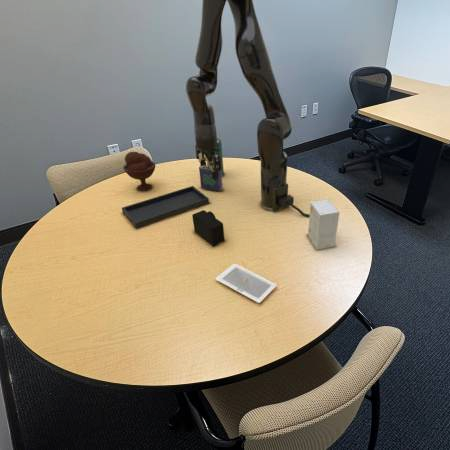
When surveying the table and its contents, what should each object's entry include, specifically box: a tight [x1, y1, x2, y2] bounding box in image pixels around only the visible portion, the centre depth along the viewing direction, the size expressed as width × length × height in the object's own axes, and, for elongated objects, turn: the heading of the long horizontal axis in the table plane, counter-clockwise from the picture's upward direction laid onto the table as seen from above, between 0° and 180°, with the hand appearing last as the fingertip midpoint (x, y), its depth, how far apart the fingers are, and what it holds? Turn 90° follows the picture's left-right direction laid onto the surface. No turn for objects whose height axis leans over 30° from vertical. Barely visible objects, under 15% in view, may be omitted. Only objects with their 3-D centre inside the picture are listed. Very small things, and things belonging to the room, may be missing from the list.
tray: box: [121, 185, 210, 230], centre depth 119 cm, size 12×26×2 cm, turn 133°
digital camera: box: [191, 209, 225, 247], centre depth 105 cm, size 10×5×7 cm, turn 47°
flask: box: [198, 163, 224, 192], centre depth 129 cm, size 9×3×11 cm, turn 74°
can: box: [206, 137, 225, 177], centre depth 139 cm, size 6×6×15 cm
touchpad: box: [214, 262, 278, 304], centre depth 90 cm, size 8×15×2 cm, turn 58°
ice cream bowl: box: [122, 151, 156, 192], centre depth 126 cm, size 11×11×15 cm
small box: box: [307, 199, 340, 251], centre depth 105 cm, size 8×6×13 cm
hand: (209, 175), depth 129 cm, fingers open, 8 cm apart
